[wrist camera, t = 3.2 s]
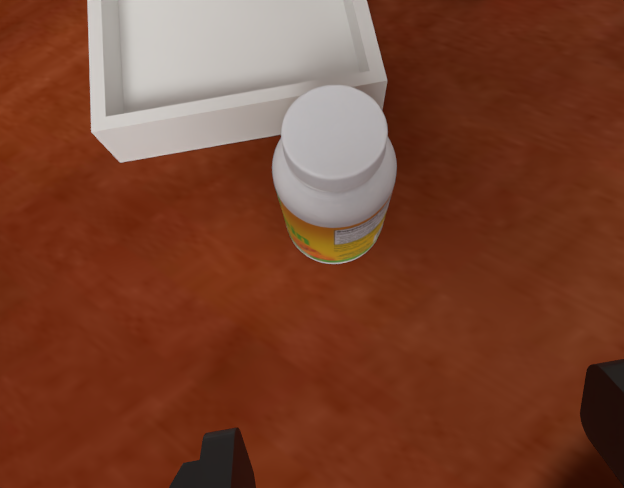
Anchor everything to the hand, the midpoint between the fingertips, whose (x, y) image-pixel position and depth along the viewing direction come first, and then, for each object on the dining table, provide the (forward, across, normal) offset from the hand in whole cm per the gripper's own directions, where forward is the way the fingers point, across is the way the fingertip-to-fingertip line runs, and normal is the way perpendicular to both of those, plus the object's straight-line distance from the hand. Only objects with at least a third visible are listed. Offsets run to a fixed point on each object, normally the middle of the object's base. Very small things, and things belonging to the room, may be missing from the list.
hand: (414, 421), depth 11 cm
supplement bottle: (+17, 0, +2) cm, 17 cm away
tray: (+26, +4, -8) cm, 28 cm away
